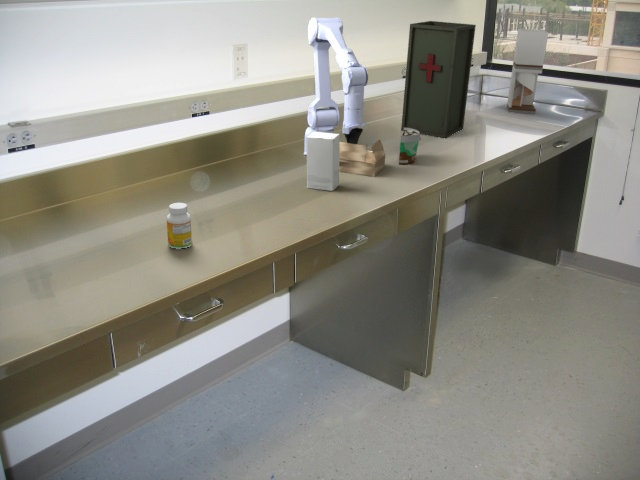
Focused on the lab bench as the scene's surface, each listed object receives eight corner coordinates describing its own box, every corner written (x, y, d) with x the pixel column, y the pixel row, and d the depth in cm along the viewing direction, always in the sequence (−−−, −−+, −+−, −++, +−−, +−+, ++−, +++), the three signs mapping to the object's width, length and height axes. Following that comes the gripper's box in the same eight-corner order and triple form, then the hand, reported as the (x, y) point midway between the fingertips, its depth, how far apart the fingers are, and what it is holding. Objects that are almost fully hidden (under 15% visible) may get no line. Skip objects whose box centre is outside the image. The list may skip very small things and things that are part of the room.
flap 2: (376, 161, 201) (370, 146, 200) (384, 154, 209) (378, 139, 208) (377, 161, 201) (371, 146, 200) (385, 154, 209) (380, 139, 208)
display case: (508, 112, 294) (521, 31, 280) (506, 107, 304) (518, 28, 290) (535, 114, 292) (548, 32, 278) (532, 109, 302) (544, 30, 288)
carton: (325, 169, 207) (325, 156, 205) (341, 157, 220) (341, 144, 218) (373, 176, 202) (374, 163, 200) (387, 163, 215) (388, 150, 213)
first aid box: (463, 129, 262) (475, 24, 246) (445, 138, 247) (457, 28, 231) (420, 122, 271) (430, 20, 255) (401, 130, 256) (410, 23, 240)
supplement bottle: (169, 240, 152) (167, 201, 149) (193, 240, 153) (191, 201, 149) (166, 250, 148) (164, 209, 144) (191, 250, 148) (189, 209, 144)
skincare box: (339, 185, 193) (341, 133, 187) (332, 192, 187) (334, 139, 181) (312, 181, 195) (314, 130, 189) (305, 188, 190) (306, 135, 183)
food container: (417, 167, 212) (420, 137, 208) (398, 166, 213) (400, 136, 209) (419, 157, 223) (422, 128, 219) (401, 155, 224) (404, 127, 220)
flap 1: (334, 157, 203) (335, 141, 202) (334, 157, 204) (335, 141, 202) (365, 161, 200) (366, 145, 199) (365, 161, 201) (366, 145, 199)
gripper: (359, 113, 189) (357, 159, 194) (373, 104, 201) (371, 147, 207) (336, 111, 191) (334, 156, 196) (351, 102, 204) (349, 145, 209)
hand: (351, 151), depth 202 cm, fingers closed, pressing on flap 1
